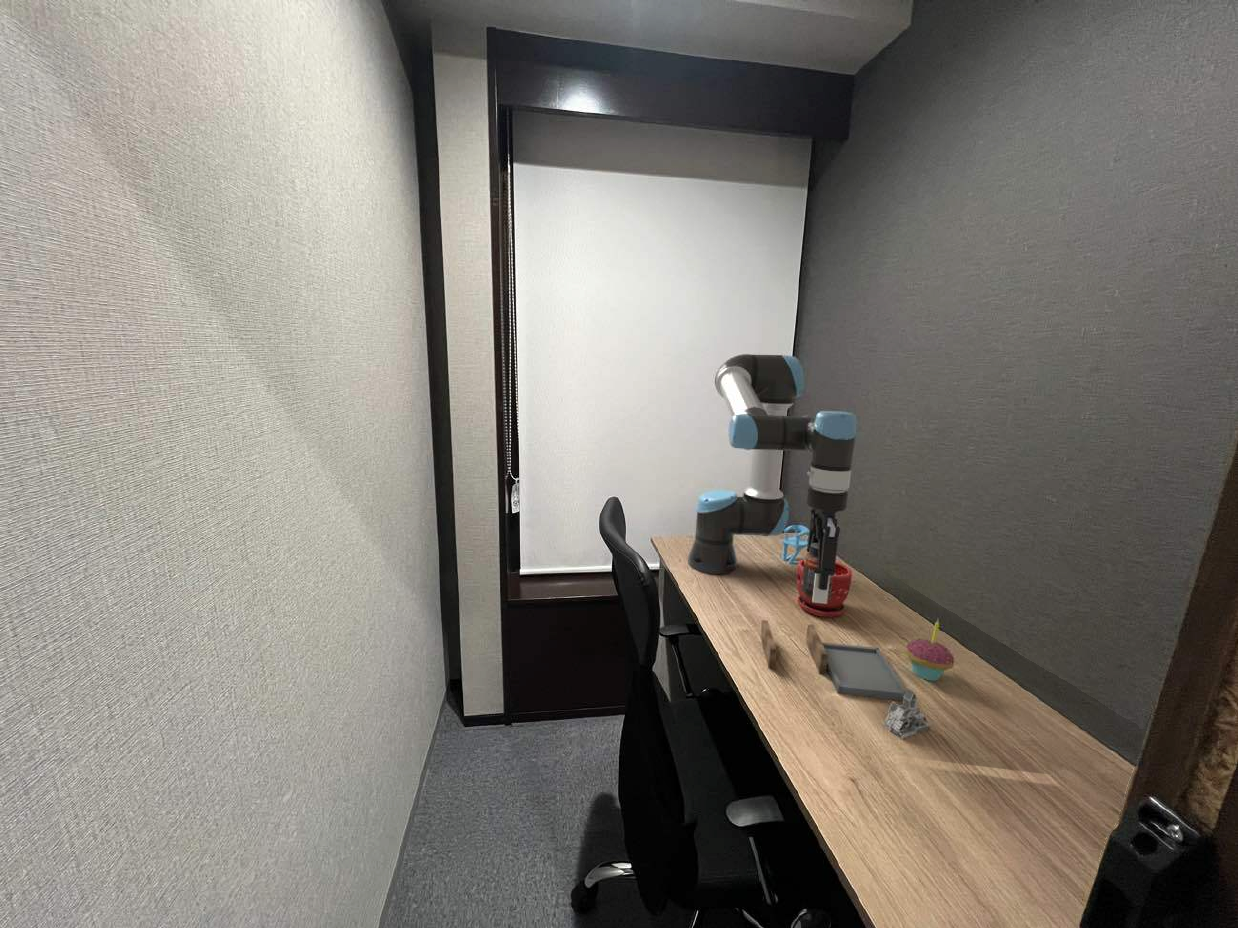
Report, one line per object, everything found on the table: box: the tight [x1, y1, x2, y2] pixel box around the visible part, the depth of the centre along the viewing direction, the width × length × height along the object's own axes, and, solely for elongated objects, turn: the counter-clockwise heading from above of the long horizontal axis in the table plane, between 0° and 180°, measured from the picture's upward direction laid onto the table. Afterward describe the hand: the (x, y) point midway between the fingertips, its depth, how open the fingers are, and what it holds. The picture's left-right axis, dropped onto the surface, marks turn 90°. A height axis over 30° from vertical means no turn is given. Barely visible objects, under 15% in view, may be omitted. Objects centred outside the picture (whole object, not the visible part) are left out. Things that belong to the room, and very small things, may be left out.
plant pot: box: [796, 558, 853, 618], centre depth 130 cm, size 13×13×12 cm
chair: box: [781, 524, 810, 565], centre depth 162 cm, size 8×8×12 cm
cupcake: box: [905, 618, 955, 682], centre depth 103 cm, size 9×8×12 cm
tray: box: [821, 641, 908, 701], centre depth 104 cm, size 16×13×2 cm
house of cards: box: [883, 687, 931, 741], centre depth 90 cm, size 9×9×8 cm
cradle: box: [760, 620, 828, 675], centre depth 109 cm, size 12×11×4 cm
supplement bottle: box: [801, 543, 833, 601], centre depth 104 cm, size 6×6×11 cm
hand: (815, 594), depth 105 cm, fingers closed on supplement bottle, 6 cm apart
